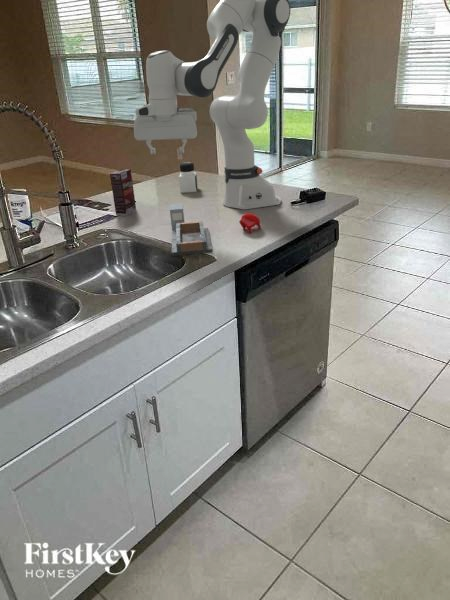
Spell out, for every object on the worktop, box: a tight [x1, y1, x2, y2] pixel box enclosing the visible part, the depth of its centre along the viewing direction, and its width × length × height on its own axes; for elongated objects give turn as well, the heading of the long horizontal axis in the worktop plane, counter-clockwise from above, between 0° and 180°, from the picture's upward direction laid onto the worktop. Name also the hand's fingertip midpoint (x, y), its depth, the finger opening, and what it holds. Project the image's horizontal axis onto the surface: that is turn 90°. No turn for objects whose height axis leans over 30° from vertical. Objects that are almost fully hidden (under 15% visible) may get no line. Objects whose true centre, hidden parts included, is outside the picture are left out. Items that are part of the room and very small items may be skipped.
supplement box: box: [109, 168, 137, 217], centre depth 179 cm, size 9×5×16 cm, turn 163°
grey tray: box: [171, 220, 213, 257], centre depth 148 cm, size 12×20×4 cm, turn 5°
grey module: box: [169, 202, 186, 231], centre depth 163 cm, size 4×7×7 cm, turn 5°
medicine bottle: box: [178, 161, 198, 194], centre depth 205 cm, size 7×7×12 cm
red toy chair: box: [239, 212, 262, 234], centre depth 155 cm, size 8×6×6 cm
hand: (167, 153), depth 155 cm, fingers open, 8 cm apart
